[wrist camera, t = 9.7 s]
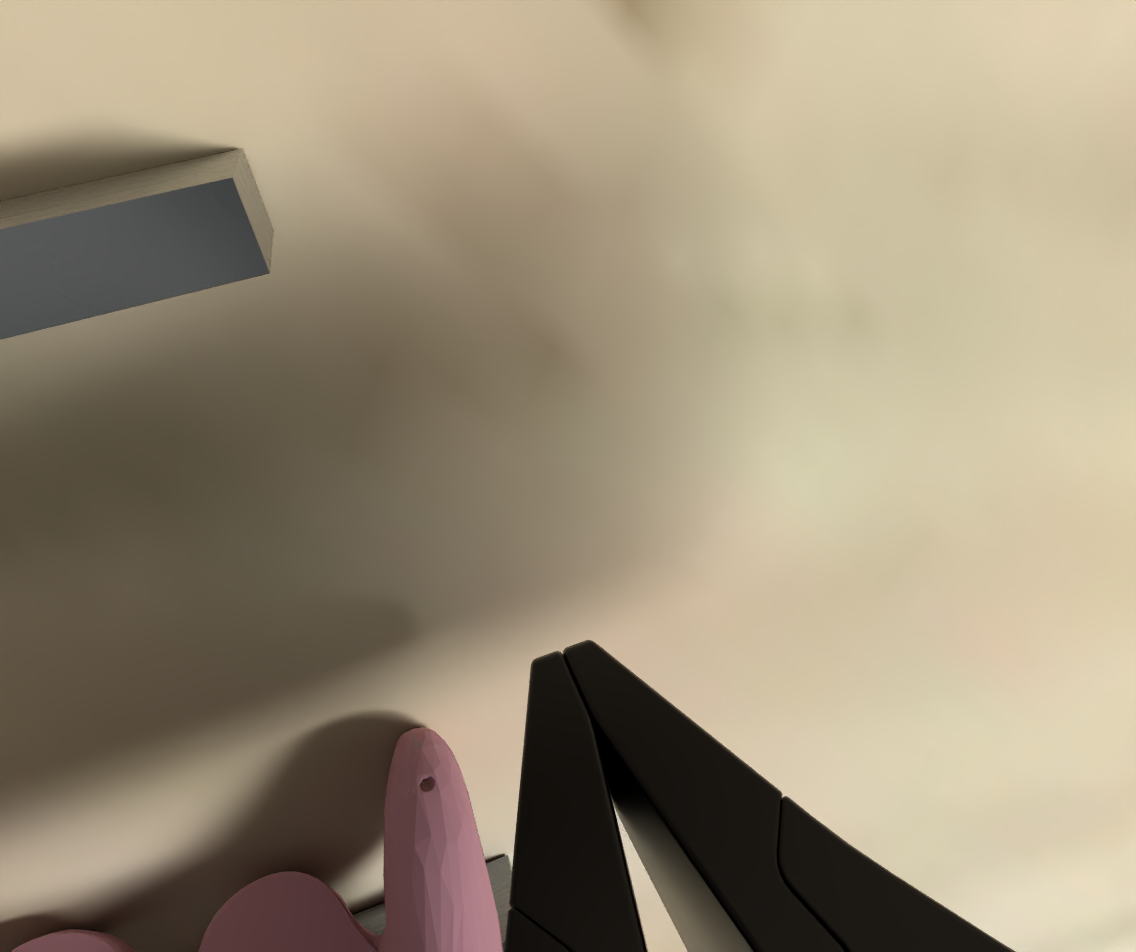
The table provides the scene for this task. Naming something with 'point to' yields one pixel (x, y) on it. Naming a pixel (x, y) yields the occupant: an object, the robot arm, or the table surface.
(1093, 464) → the table surface
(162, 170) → the metal bay
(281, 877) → the video game controller
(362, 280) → the table surface
